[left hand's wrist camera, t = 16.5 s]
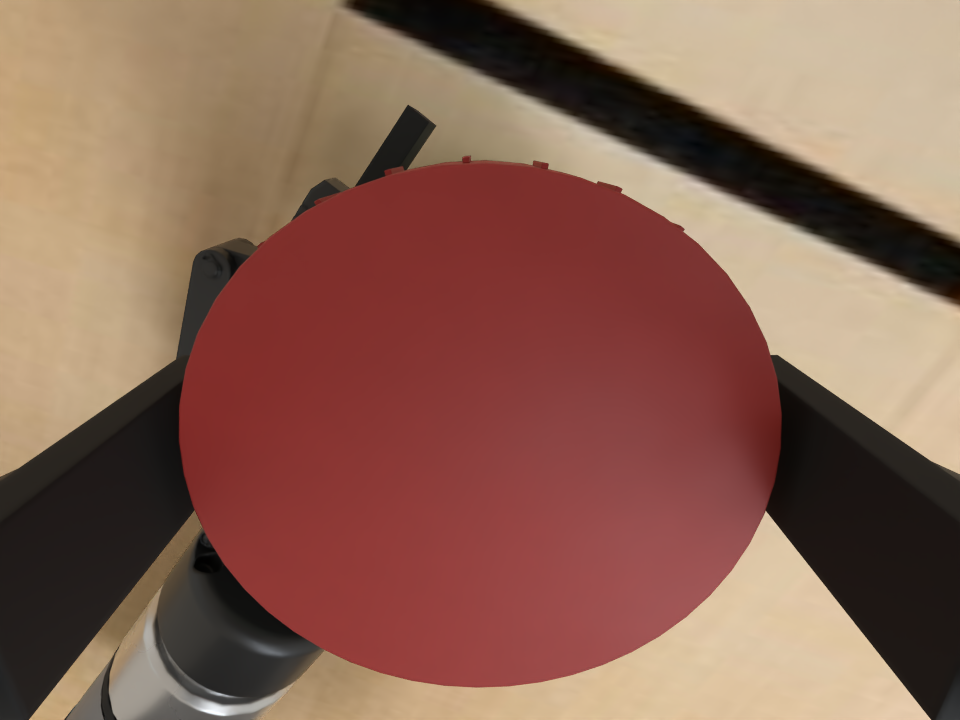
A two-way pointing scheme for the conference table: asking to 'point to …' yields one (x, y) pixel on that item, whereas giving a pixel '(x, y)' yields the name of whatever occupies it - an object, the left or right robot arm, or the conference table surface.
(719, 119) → the conference table surface
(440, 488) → the lid
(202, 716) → the right robot arm
